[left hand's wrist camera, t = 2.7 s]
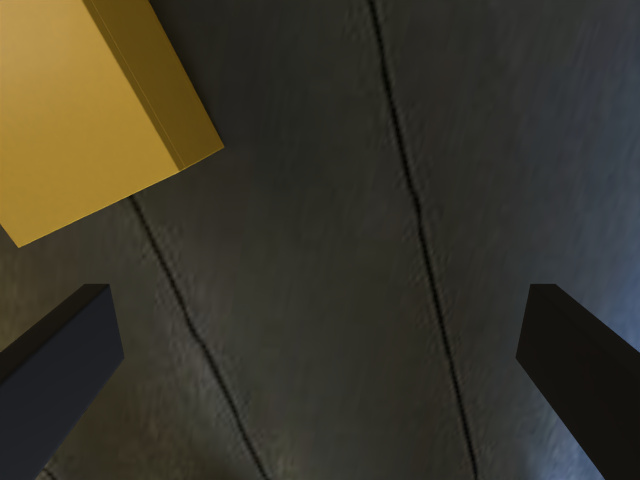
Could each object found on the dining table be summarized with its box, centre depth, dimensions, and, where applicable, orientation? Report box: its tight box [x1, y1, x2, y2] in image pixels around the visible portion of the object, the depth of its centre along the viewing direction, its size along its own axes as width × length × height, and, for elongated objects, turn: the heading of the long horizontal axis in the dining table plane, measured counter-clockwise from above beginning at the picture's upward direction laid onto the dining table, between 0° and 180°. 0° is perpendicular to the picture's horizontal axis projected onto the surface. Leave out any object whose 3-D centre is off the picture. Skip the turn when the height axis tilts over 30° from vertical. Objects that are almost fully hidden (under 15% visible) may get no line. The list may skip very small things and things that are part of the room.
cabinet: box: [0, 0, 224, 247], centre depth 23 cm, size 20×10×10 cm, turn 24°
